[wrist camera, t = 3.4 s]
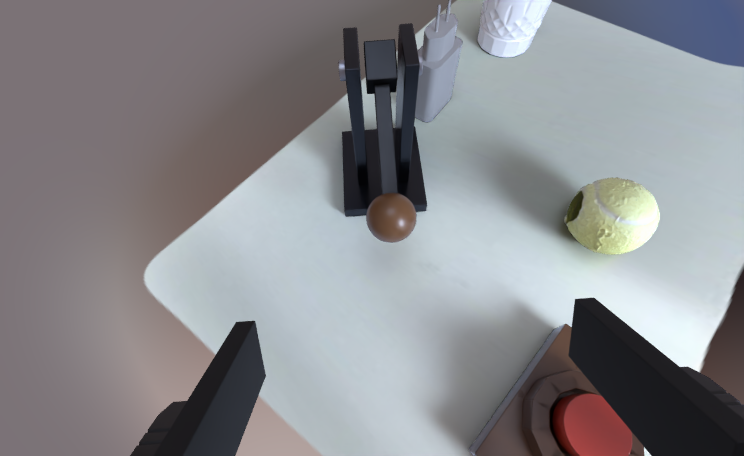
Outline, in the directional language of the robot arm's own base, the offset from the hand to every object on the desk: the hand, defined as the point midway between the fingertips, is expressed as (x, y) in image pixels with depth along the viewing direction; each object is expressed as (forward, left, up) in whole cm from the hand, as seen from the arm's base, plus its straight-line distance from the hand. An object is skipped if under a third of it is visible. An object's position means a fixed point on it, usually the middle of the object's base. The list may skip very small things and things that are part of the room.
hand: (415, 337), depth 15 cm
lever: (+10, +11, -7) cm, 17 cm away
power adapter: (+24, +17, -16) cm, 34 cm away
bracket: (+13, +14, -16) cm, 25 cm away
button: (+5, -11, -12) cm, 17 cm away
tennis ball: (+21, -5, -16) cm, 27 cm away
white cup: (+39, +17, -16) cm, 46 cm away
